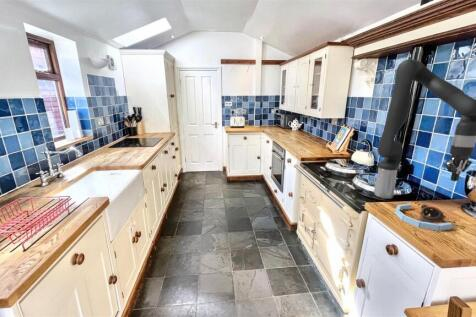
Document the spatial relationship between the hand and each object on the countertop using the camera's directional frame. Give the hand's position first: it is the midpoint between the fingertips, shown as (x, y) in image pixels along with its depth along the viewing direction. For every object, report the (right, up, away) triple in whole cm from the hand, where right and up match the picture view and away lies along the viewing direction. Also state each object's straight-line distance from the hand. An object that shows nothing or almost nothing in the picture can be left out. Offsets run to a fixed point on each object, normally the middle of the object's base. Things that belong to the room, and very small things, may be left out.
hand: (454, 180), depth 106 cm
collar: (-18, -19, +1) cm, 26 cm away
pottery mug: (-12, -19, 0) cm, 23 cm away
